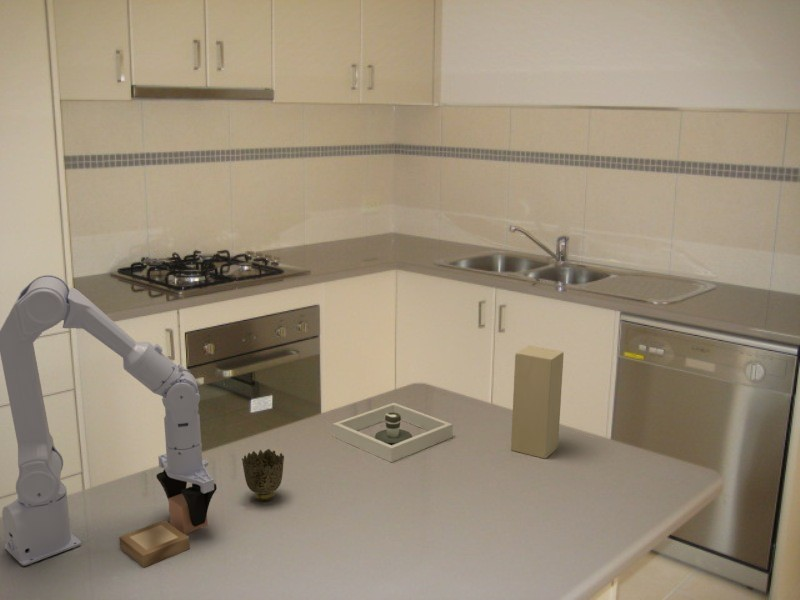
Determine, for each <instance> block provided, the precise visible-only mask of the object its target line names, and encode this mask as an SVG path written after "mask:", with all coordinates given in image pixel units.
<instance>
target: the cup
mask: <svg viewBox="0 0 800 600" xmlns="http://www.w3.org/2000/svg"><path fill="white" fill-rule="evenodd" d="M284 460H285V455H283V453H282V452H280V454H276V451H275V450H273V451H272V450H271V449H269V448H267V449H266V450H264V452H263V451H262V449H259V451H258V453H256V451H254V450H253V451H252V452H251V453H250V452H248V453H247V455H246V454H244V456H243V458H241V462H242V467H243V473H244V479H245V483H246V485H247V487H248V488H249V490H250V491H251V492H253V493H254V494H253V495H254V498H255V499H256V500H257V501H259V502H269V501H272V499H274V497H275V495H276V492H275V491H277V489H279V488H280V486H281V483H282V479H283V473H284V462H285V461H284Z"/></svg>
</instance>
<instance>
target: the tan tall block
mask: <svg viewBox="0 0 800 600" xmlns="http://www.w3.org/2000/svg"><path fill="white" fill-rule="evenodd" d="M563 369H564V351H561V350H556V349H549V348H544V347H539V346H534V345H527V346H525V347H523V348H522V349H520V350H518V351H517V352H515V356H514V376H513V397H512V418H511V437H510V438H511V439H510V440H511V441H510V442H511V443H510V449H511V451H513V452H517V453H520V454H524V455H529V456H534V457H538V458H541V459H547V458H549V456H550V455H551V454H553V453H554V452H555V451H556V450H557V449H558V448H559V439H560V438H559V435H560V422H561V419H560V418H561V405H562V404H561V403H562V387H563V386H562V385H563V371H564V370H563Z"/></svg>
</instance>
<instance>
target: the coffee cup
mask: <svg viewBox="0 0 800 600" xmlns="http://www.w3.org/2000/svg"><path fill="white" fill-rule="evenodd" d="M401 421H402V420H401V416H400V414H398V413H386V415H385V427H386V429H383V430H379V431H377V433H376V434H375V439H377V440H380V441H382V442H384V443H387V444H397V443H399V442H402V441H404V440H407V439H409V438H412V434H411V432H409V431H408V430H404V429H401V428H400V425H401Z"/></svg>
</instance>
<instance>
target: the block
mask: <svg viewBox="0 0 800 600" xmlns="http://www.w3.org/2000/svg"><path fill="white" fill-rule="evenodd" d="M168 499H169V501H168V510H169V524H170V525H172V526H173V527H175V528H176V529H178V530H179V531H180V532H182V533H183V534H185V535H186V534H188V533H191V532H194V531H196V530H198V529H202V528H203V527H206V526H208V514H207V515H206V520H205V523H203V524H201V525H198V526H196V527H194V526H193V525H192V523H191V519H190V514H189V508H188V505H187V502H186V500H185V498H184V496H183V494H179V495H176V496H174V497H171V498H167V500H168Z"/></svg>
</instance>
